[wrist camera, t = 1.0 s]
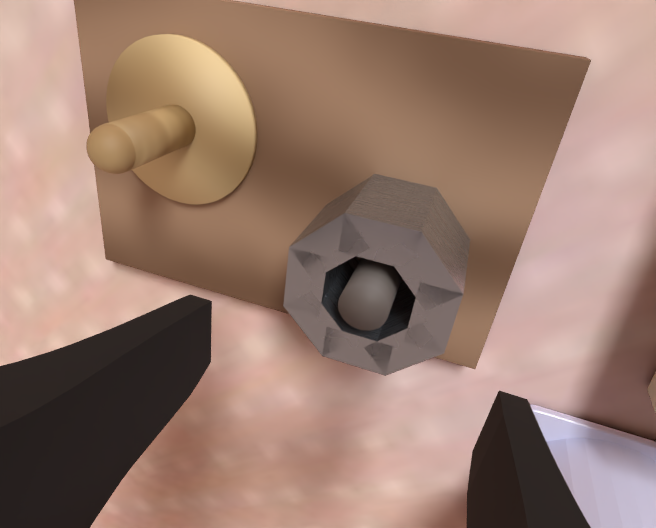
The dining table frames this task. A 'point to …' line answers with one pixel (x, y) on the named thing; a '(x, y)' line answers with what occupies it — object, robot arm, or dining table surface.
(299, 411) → the dining table surface
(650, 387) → the skincare box
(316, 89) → the board
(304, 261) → the collar
